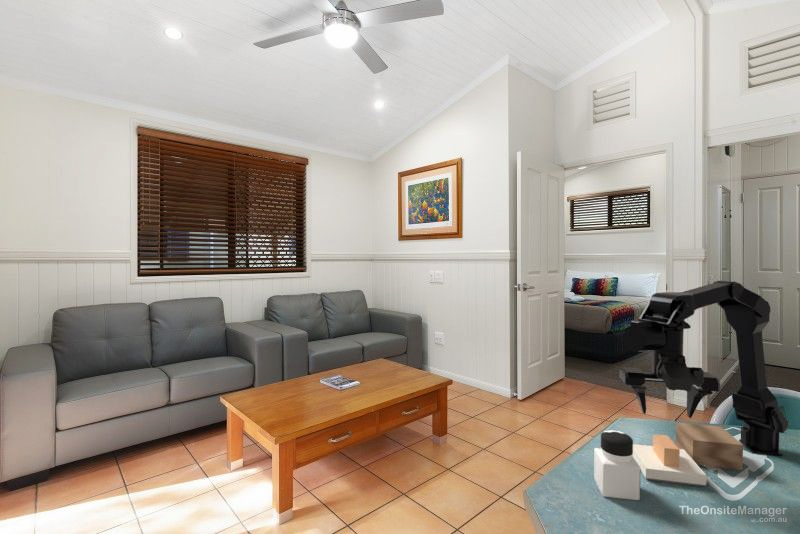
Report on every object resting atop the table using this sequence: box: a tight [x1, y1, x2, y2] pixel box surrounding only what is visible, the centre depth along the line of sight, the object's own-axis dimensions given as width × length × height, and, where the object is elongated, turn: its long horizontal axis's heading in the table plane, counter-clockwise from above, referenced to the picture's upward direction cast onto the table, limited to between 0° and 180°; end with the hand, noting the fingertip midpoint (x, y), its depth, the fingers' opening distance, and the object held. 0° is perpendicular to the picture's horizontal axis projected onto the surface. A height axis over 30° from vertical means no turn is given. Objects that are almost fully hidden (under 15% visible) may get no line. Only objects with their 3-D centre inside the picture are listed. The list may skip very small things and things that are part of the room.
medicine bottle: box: [593, 429, 641, 501], centre depth 87 cm, size 7×7×12 cm
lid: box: [633, 433, 707, 486], centre depth 94 cm, size 12×12×6 cm
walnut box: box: [675, 422, 744, 471], centre depth 100 cm, size 10×10×6 cm
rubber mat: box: [645, 478, 705, 487], centre depth 94 cm, size 11×11×1 cm
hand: (666, 415), depth 94 cm, fingers open, 9 cm apart
